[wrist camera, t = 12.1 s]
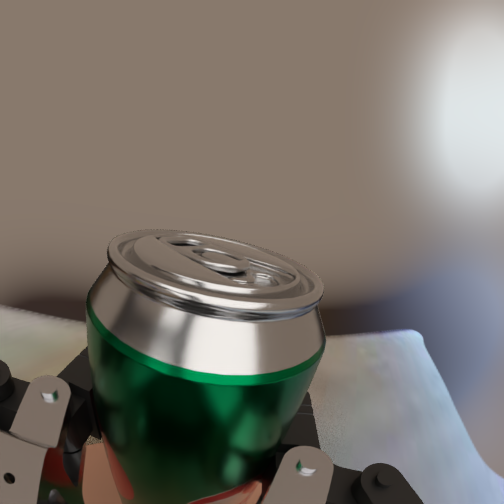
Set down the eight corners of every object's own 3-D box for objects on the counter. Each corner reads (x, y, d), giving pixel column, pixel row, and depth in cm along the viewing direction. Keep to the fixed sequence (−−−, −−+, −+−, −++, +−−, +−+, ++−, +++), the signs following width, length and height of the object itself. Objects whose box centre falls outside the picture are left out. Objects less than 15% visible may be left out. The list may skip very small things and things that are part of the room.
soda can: (186, 567, 5) (264, 370, 2) (101, 495, 7) (53, 225, 5) (253, 505, 9) (363, 278, 6) (174, 452, 11) (207, 225, 9)
